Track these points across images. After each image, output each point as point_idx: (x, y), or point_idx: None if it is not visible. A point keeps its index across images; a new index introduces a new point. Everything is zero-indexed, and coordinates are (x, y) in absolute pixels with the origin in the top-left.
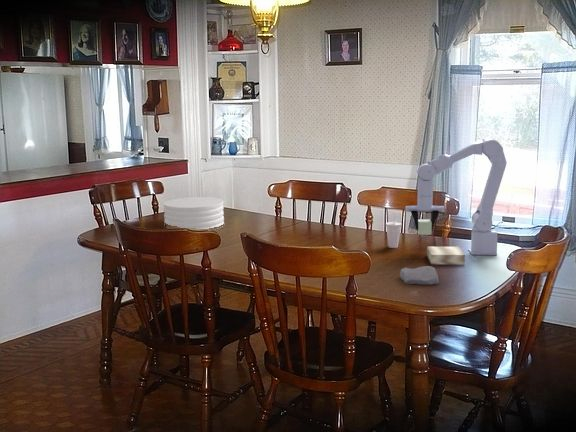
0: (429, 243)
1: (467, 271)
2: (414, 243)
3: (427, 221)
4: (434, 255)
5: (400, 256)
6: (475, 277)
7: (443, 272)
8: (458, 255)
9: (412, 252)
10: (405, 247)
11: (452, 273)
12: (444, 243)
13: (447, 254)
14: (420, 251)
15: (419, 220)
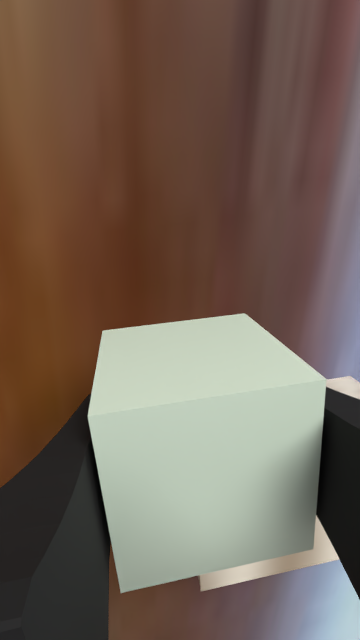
0: (214, 40)
1: (324, 586)
2: (82, 46)
3: (259, 526)
4: (217, 582)
5: (17, 450)
6: (333, 633)
7: (232, 620)
8: (336, 555)
9: (85, 349)
10: (17, 210)
11: (264, 621)
12: (334, 35)
13: (286, 565)
14: (138, 315)
15: (132, 487)
